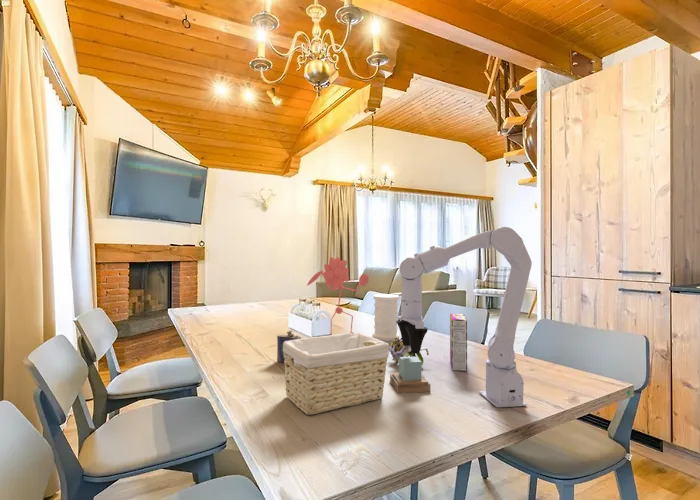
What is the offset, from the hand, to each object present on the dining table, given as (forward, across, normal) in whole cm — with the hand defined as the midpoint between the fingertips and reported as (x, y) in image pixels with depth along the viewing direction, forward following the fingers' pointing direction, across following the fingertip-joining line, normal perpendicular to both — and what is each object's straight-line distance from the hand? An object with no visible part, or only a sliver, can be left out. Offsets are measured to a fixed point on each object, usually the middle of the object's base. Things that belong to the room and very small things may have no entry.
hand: (411, 349), depth 107 cm
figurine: (+10, -43, -16) cm, 47 cm away
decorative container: (+11, -57, +7) cm, 58 cm away
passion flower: (+11, -20, +5) cm, 23 cm away
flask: (+11, -26, -34) cm, 44 cm away
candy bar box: (+11, -15, +21) cm, 28 cm away
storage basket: (+11, +6, -22) cm, 25 cm away
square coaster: (+10, 0, 0) cm, 10 cm away
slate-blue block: (+8, 0, 0) cm, 8 cm away
